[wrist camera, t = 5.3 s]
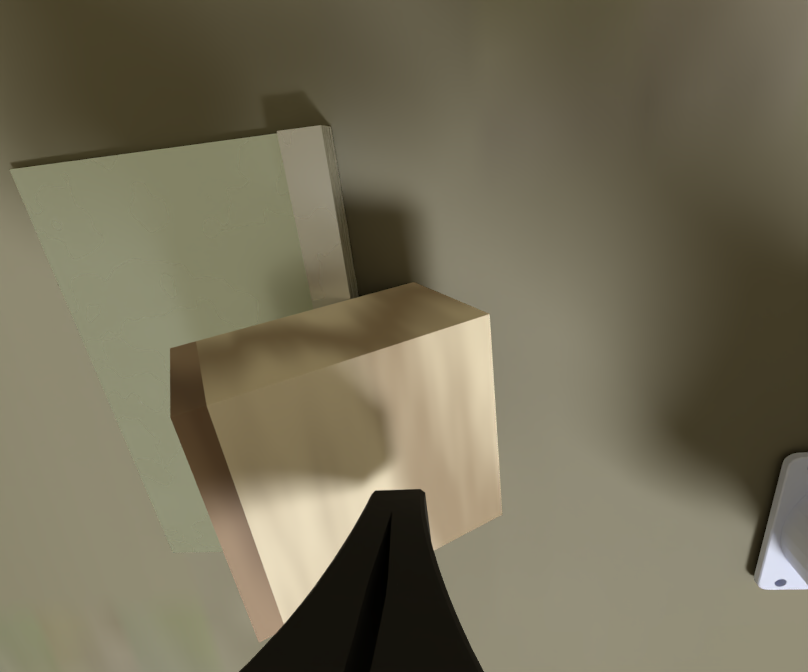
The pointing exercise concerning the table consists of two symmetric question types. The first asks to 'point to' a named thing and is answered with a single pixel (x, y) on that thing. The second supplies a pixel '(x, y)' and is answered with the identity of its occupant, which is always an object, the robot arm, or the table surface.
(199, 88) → the table surface
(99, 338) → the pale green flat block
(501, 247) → the table surface
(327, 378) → the wooden block
